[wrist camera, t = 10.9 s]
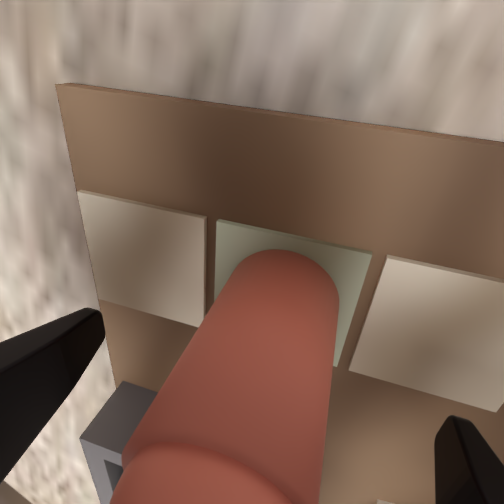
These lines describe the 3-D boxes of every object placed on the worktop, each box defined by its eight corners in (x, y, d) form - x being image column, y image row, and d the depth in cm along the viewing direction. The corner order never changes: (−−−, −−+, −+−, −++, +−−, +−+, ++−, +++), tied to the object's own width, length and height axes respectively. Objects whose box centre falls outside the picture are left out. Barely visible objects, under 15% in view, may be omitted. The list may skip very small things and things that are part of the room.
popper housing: (282, 434, 15) (264, 510, 12) (264, 515, 19) (248, 584, 17) (122, 380, 17) (79, 438, 14) (138, 465, 21) (106, 521, 18)
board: (1065, 219, 6) (1151, 239, 5) (507, 596, 17) (512, 618, 16) (70, 82, 10) (49, 85, 10) (136, 453, 21) (129, 466, 21)
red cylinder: (353, 265, 10) (327, 705, 3) (324, 353, 12) (271, 743, 5) (234, 237, 10) (5, 550, 4) (225, 323, 12) (62, 634, 6)
